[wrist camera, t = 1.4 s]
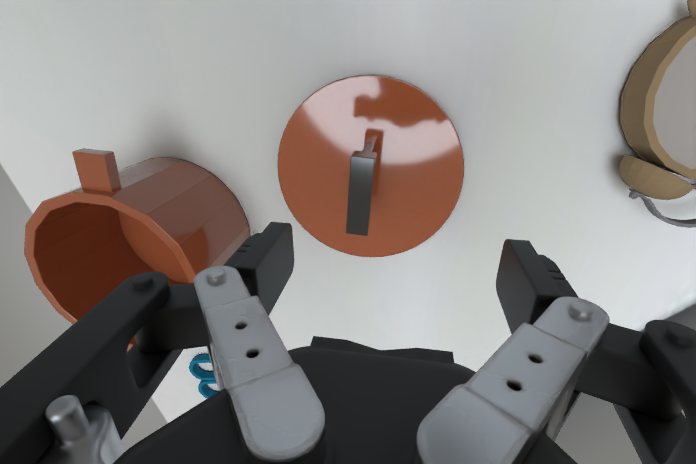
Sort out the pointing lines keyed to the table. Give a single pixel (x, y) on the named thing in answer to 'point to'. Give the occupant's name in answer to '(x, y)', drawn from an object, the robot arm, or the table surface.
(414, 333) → the table surface
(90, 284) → the crock
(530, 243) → the robot arm
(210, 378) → the scissors
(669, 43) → the alarm clock
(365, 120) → the lid
